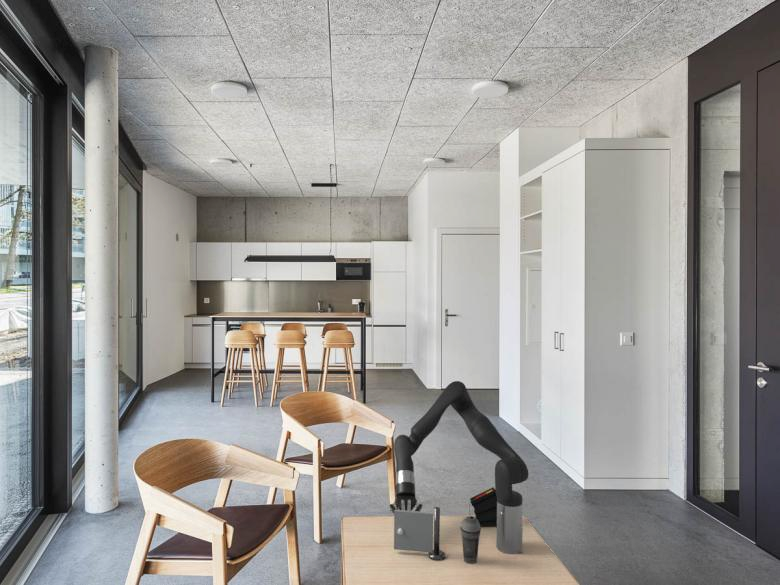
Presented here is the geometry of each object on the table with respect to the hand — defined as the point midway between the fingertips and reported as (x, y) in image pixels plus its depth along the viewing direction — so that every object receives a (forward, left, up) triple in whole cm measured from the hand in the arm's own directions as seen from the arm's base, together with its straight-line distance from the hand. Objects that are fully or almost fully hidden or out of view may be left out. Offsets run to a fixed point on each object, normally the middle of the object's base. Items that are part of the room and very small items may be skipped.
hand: (406, 530), depth 207 cm
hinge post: (-12, +4, -7) cm, 14 cm away
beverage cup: (-24, +5, -7) cm, 25 cm away
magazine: (-30, -25, -7) cm, 39 cm away
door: (-3, +5, -5) cm, 8 cm away
